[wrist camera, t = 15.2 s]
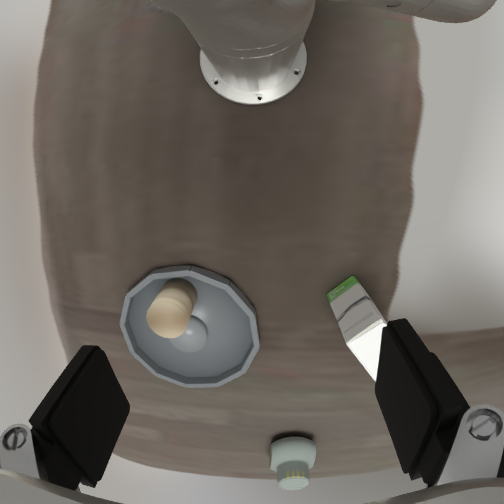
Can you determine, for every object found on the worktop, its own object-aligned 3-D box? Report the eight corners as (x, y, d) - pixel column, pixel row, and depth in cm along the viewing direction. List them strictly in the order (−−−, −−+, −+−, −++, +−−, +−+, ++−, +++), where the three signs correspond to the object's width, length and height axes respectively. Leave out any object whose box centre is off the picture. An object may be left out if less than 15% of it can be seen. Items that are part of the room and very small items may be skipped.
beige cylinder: (158, 279, 41) (141, 303, 35) (193, 275, 41) (181, 300, 34) (167, 311, 43) (152, 338, 36) (200, 308, 42) (190, 337, 36)
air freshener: (272, 429, 52) (273, 471, 42) (315, 428, 52) (321, 470, 42) (268, 458, 55) (268, 495, 46) (307, 457, 55) (310, 494, 46)
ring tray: (110, 272, 42) (104, 278, 40) (247, 257, 40) (247, 263, 38) (148, 378, 48) (145, 387, 46) (265, 374, 47) (265, 383, 45)
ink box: (324, 293, 42) (343, 344, 31) (354, 273, 41) (382, 317, 30) (354, 333, 44) (376, 385, 33) (381, 314, 43) (410, 363, 32)
